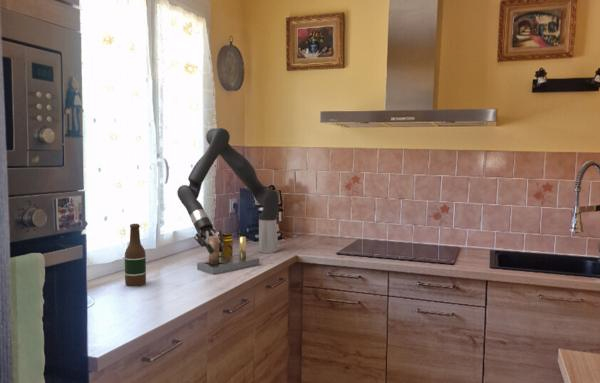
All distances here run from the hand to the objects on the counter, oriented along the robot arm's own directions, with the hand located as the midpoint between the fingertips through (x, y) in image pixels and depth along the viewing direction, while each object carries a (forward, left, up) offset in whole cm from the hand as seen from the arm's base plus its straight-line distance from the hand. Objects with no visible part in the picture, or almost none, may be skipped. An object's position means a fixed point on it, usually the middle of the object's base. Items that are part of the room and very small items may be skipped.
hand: (216, 251), depth 208 cm
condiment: (-19, -20, -9) cm, 29 cm away
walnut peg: (0, -2, -6) cm, 6 cm away
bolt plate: (-8, -2, -9) cm, 12 cm away
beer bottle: (+36, -4, -9) cm, 37 cm away
